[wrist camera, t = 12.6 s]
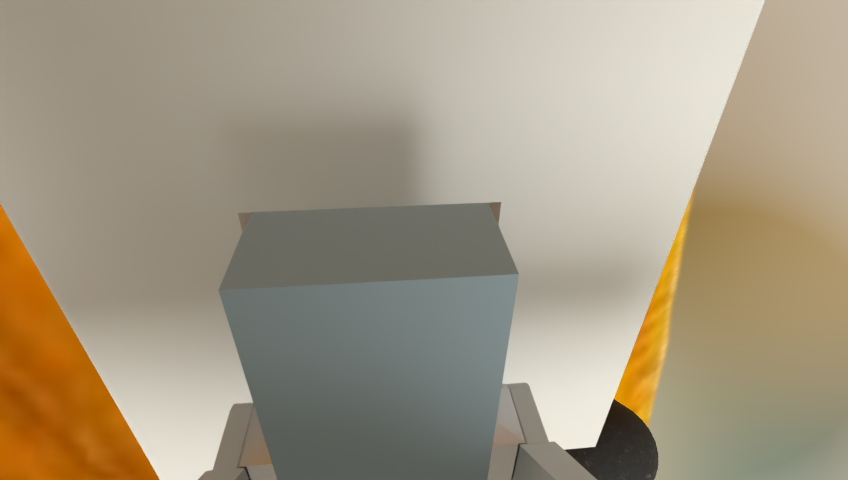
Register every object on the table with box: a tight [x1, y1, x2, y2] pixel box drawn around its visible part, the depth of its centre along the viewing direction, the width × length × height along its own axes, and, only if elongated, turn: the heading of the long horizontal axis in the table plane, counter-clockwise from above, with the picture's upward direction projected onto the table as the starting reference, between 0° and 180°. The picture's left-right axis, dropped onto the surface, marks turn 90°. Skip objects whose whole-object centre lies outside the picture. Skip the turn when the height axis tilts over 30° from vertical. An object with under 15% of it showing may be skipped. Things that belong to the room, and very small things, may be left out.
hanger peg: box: [218, 203, 519, 480], centre depth 14 cm, size 12×4×10 cm, turn 0°
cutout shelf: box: [0, 0, 765, 480], centre depth 19 cm, size 18×18×12 cm
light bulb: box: [565, 399, 658, 480], centre depth 32 cm, size 6×6×10 cm
